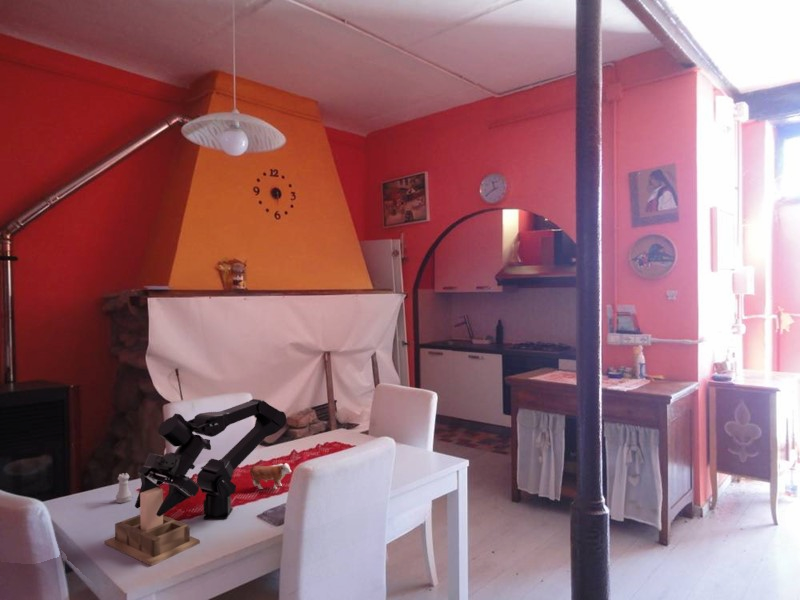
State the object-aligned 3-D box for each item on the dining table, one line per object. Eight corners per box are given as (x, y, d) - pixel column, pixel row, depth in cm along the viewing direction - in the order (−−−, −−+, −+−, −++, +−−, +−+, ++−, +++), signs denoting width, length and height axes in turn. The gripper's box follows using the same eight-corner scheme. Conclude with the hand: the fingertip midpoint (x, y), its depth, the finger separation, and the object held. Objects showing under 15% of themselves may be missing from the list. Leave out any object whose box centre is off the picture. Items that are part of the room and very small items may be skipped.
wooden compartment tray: (153, 524, 143) (152, 507, 142) (199, 543, 132) (199, 524, 132) (104, 543, 132) (104, 524, 132) (151, 565, 121) (151, 545, 121)
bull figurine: (290, 490, 167) (290, 465, 167) (248, 490, 167) (248, 465, 167) (293, 485, 171) (293, 460, 171) (252, 485, 171) (252, 460, 171)
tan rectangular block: (157, 535, 134) (157, 487, 134) (163, 538, 133) (162, 489, 133) (140, 542, 130) (140, 492, 130) (146, 545, 129) (146, 494, 129)
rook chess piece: (114, 504, 156) (114, 477, 156) (116, 499, 160) (115, 473, 160) (131, 502, 158) (131, 475, 158) (132, 496, 162) (132, 471, 162)
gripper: (144, 434, 140) (103, 488, 131) (188, 445, 130) (146, 504, 121) (171, 456, 146) (133, 509, 137) (215, 467, 136) (177, 525, 127)
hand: (146, 511), depth 130 cm, fingers open, 9 cm apart
